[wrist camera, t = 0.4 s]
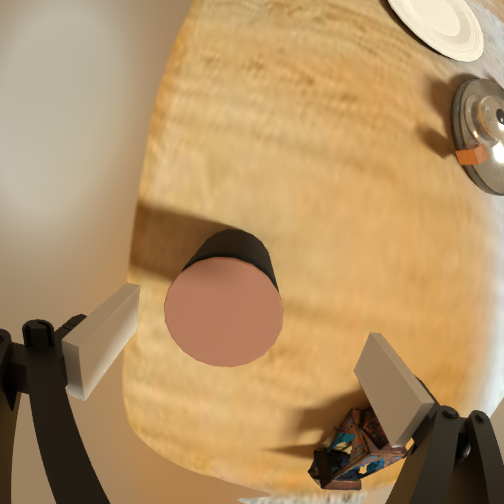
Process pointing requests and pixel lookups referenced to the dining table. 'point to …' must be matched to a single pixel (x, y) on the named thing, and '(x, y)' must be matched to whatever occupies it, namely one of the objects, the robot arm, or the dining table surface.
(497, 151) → the turntable
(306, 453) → the dining table surface
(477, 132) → the cover
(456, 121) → the turntable base
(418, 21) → the plate
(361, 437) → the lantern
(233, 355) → the coffee jar
